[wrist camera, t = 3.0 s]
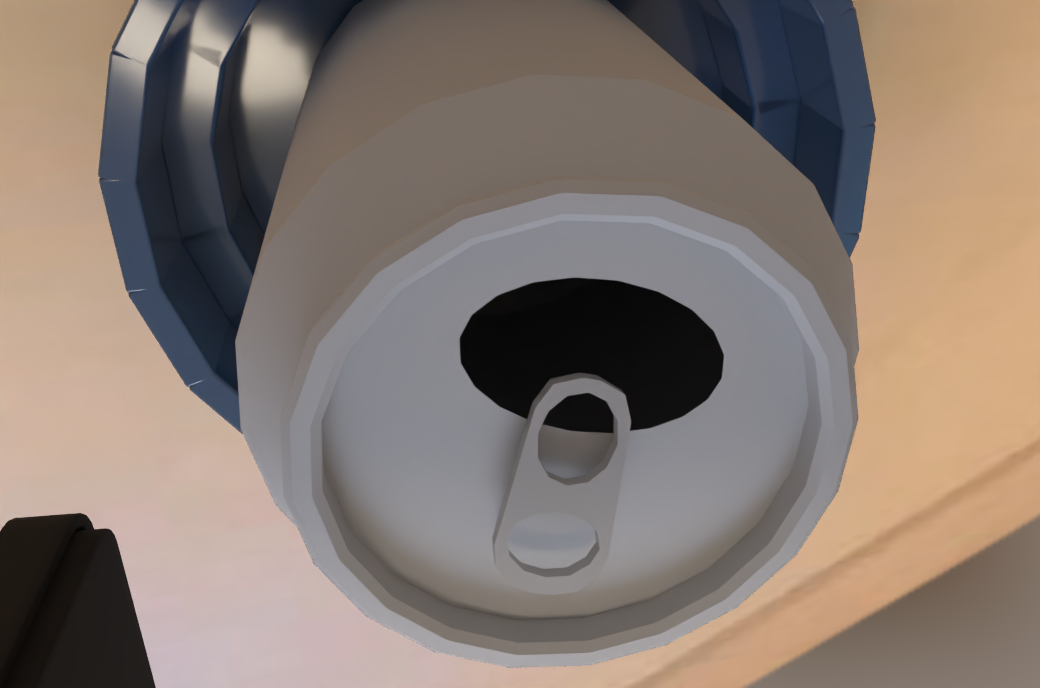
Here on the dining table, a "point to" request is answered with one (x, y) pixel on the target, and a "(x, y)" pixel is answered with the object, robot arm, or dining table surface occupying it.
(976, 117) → the dining table surface
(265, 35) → the bowl
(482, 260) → the can
